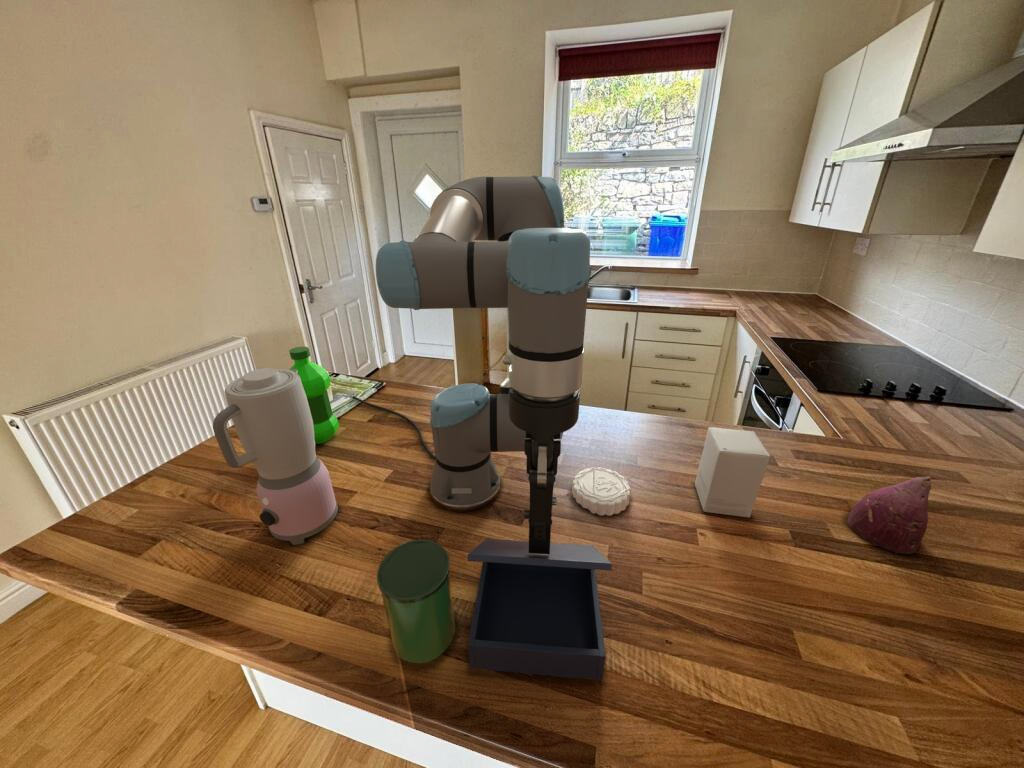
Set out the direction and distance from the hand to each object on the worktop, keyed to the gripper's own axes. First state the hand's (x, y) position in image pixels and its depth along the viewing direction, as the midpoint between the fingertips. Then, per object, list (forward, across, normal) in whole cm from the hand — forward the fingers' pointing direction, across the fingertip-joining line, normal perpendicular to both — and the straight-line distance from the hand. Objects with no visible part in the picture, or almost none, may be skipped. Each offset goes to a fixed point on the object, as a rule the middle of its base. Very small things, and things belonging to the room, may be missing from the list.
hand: (539, 549), depth 52 cm
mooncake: (+17, -30, +13) cm, 37 cm away
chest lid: (+5, -3, 0) cm, 6 cm away
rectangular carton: (+17, -30, +38) cm, 51 cm away
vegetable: (+17, -24, +64) cm, 71 cm away
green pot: (+17, +2, -16) cm, 23 cm away
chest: (+17, -2, 0) cm, 17 cm away
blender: (+17, -17, -47) cm, 52 cm away
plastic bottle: (+16, -47, -58) cm, 76 cm away
